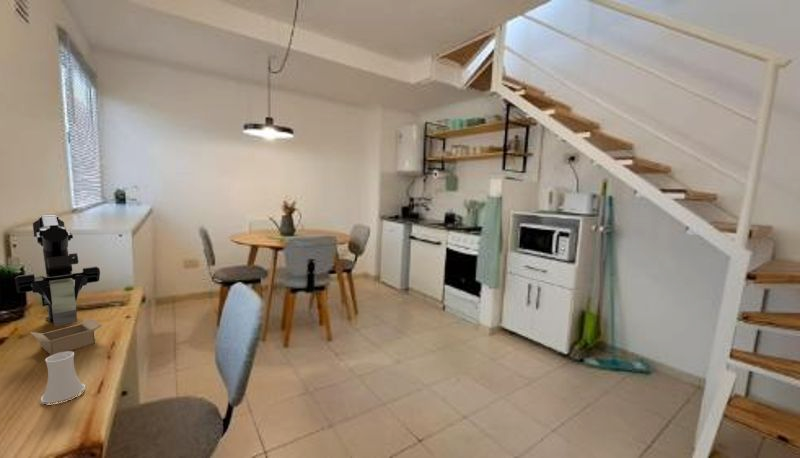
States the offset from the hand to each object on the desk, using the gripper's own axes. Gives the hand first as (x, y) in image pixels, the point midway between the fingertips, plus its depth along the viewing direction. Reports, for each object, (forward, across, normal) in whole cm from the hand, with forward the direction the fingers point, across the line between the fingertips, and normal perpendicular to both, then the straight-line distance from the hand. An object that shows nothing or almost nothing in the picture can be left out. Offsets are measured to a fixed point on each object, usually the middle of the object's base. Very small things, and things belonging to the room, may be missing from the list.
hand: (63, 302), depth 105 cm
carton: (+10, 0, +9) cm, 13 cm away
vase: (+34, -3, -15) cm, 37 cm away
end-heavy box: (+4, 0, +6) cm, 7 cm away
